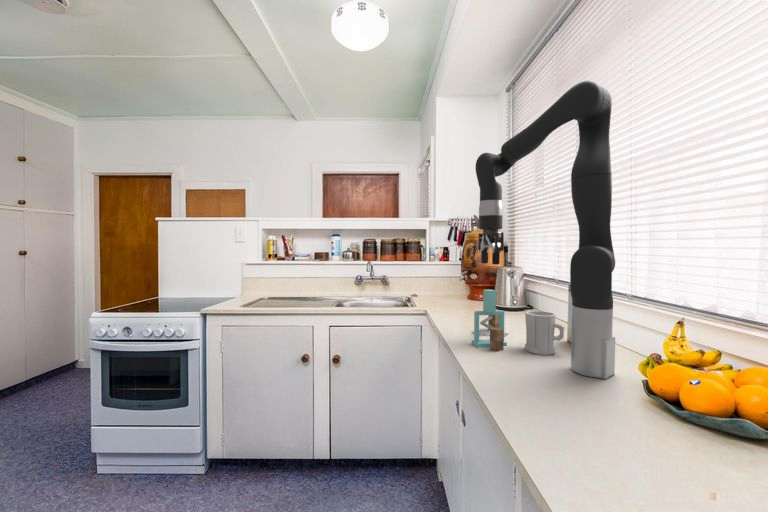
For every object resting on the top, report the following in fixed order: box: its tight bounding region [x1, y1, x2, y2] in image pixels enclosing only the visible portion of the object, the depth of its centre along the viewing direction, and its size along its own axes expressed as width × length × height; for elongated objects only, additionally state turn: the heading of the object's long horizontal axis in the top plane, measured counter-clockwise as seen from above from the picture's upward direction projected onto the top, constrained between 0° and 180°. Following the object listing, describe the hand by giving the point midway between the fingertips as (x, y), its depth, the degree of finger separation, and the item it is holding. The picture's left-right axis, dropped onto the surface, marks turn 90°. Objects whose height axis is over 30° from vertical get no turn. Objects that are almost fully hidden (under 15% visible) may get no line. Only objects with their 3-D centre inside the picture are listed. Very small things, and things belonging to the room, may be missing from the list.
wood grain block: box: [487, 315, 505, 352], centre depth 125 cm, size 4×30×7 cm, turn 164°
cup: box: [524, 310, 566, 356], centre depth 111 cm, size 10×9×12 cm
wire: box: [479, 315, 494, 329], centre depth 125 cm, size 6×26×1 cm, turn 164°
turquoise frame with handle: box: [471, 289, 508, 348], centre depth 117 cm, size 5×10×18 cm, turn 98°
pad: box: [471, 329, 509, 338], centre depth 132 cm, size 7×12×1 cm, turn 57°
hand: (489, 263), depth 117 cm, fingers open, 8 cm apart
